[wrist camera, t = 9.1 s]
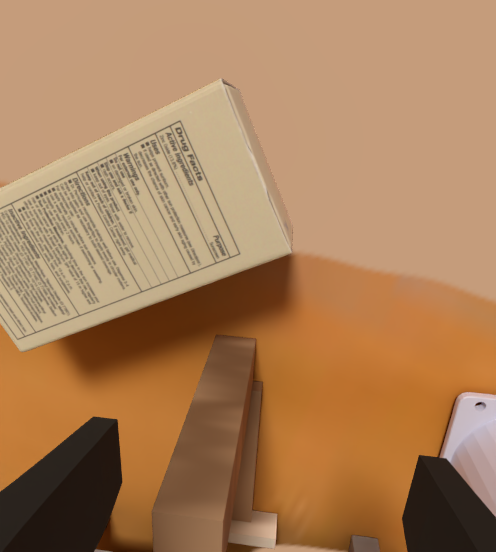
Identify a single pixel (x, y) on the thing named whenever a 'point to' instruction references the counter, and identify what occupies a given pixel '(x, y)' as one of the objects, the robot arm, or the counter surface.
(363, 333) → the counter surface
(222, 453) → the brown piece
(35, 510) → the robot arm
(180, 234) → the skincare box
